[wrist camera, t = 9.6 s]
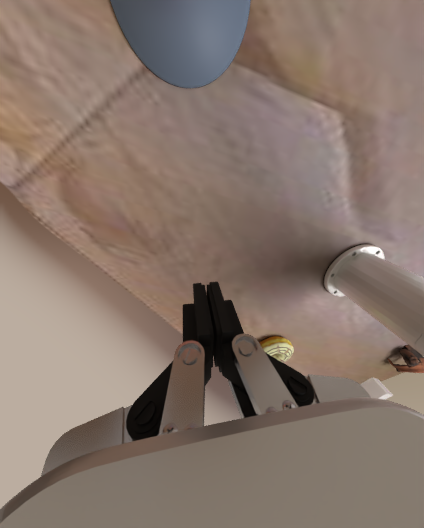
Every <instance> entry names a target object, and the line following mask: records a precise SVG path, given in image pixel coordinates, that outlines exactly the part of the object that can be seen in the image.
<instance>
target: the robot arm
mask: <svg viewBox="0 0 424 528" xmlns="http://www.w3.org/2000/svg"><path fill="white" fill-rule="evenodd" d="M324 285H325V288H326V290H328V291H329V292H330V293H331V294H333V295H336V296H347V297H348V298H349V299H351V300H352V301H353V302H354V303H356V304H357V305H358V306H360V307H361V308H362V309H363V310H365V311H366V312H367V313H369V314H370V315H371V316H372V317H374V318H375V319H376V320H378V321H379V322H380V323H381V324H383V325H384V326H385V327H387V328H388V329H389V330H390V331H392V332H393V333H394V334H396V335H397V336H398V337H399V338H401V339H402V340H403V341H405V342H406V343H407V344H408V345H410V346H411V347H412V348H414V349H415V350H416V351H418V352H419V353H420V354H421V355H423V356H424V277H422V276H420V275H417V274H415V273H413V272H411V271H408V270H406V269H404V268H402V267H400V266H397V265H395V264H393V263H391V262H389V261H386V260H384V253H383V251H382V250H381V249H380V248H379V247H376V246H374V245H369V244H365V245H359V246H356V247H353V248H351V249H349V250H347V251H346V252H344V253H343V254H341V255H340V256H339V257H338V258H337V259H336V260H335V261H334V262H333V263H332V264H331V265H330V267H329V268H328V270H327V272H326V274H325V278H324ZM193 292H194V304H184V305H183V343H182V344H180V345H179V346H178V348H177V349H176V351H175V355H174V360H173V362H172V363H171V364H170V365H169V366H168V367H167V368H166V369H165V370H164V371H163V372H162V373H161V374H160V375H159V376H158V378H157V379H156V380H155V381H154V382H153V383H152V384H151V385H150V386H149V387H148V388H147V389H146V390H145V391H144V392H143V394H142V395H141V396H140V397H139V398H138V399H137V400H136V401H135V402H134V404H133V405H131V406H129V407H127V408H123V407H122V408H119V409H117V410H115V411H112V412H110V413H108V414H105V415H103V416H101V417H98V418H96V419H94V420H91V421H89V422H87V423H85V424H82V425H80V426H77V427H75V428H73V429H71V430H69V431H68V432H66V433H64V434H63V435H62V436H61V437H60V438H59V439H58V440H57V441H56V443H55V444H54V445H53V447H52V448H51V450H50V452H49V454H48V456H47V459H46V461H45V465H44V468H43V471H42V475H41V477H40V478H39V479H37V480H36V481H34V482H33V483H31V484H30V485H28V486H27V487H26V488H24V489H23V490H22V491H21V492H19V493H18V494H17V495H16V496H14V497H13V498H12V499H11V500H10V501H9V502H8V503H6V504H5V505H4V506H3V507H2V508H1V509H0V528H424V415H422V414H420V413H419V412H417V411H415V410H413V409H411V408H408V407H406V406H403V405H401V404H398V403H394V402H391V401H388V400H383V399H378V398H371V397H370V396H369V394H368V393H367V391H366V390H365V389H364V388H363V387H362V386H361V385H360V384H358V383H357V382H355V381H353V380H351V379H347V378H339V377H329V376H319V375H308V376H303V375H302V374H301V373H299V372H298V371H296V370H294V369H293V368H291V367H289V366H287V365H286V364H284V363H282V362H281V361H279V360H277V359H276V358H274V357H272V356H271V355H269V354H267V353H265V352H264V350H263V348H262V347H261V345H260V343H259V342H258V341H257V339H256V338H254V337H253V336H251V335H249V334H244V332H243V329H242V327H241V324H240V321H239V319H238V316H237V313H236V311H235V308H234V305H233V303H232V301H231V300H225V301H224V299H223V296H222V293H221V290H220V286H219V283H218V282H210V285H207V295H206V290H205V285H201V283H196V284H193ZM213 356H214V361H215V366H216V367H217V366H219V371H220V372H222V374H223V376H224V377H225V378H227V379H228V382H229V385H230V388H231V391H232V394H233V396H234V399H235V402H236V405H237V408H238V411H239V413H240V416H241V419H237V420H232V421H228V422H223V423H217V424H213V425H208V426H204V404H205V403H204V402H205V385H206V384H207V382H208V381H209V379H210V378H211V367H213Z"/></svg>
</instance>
